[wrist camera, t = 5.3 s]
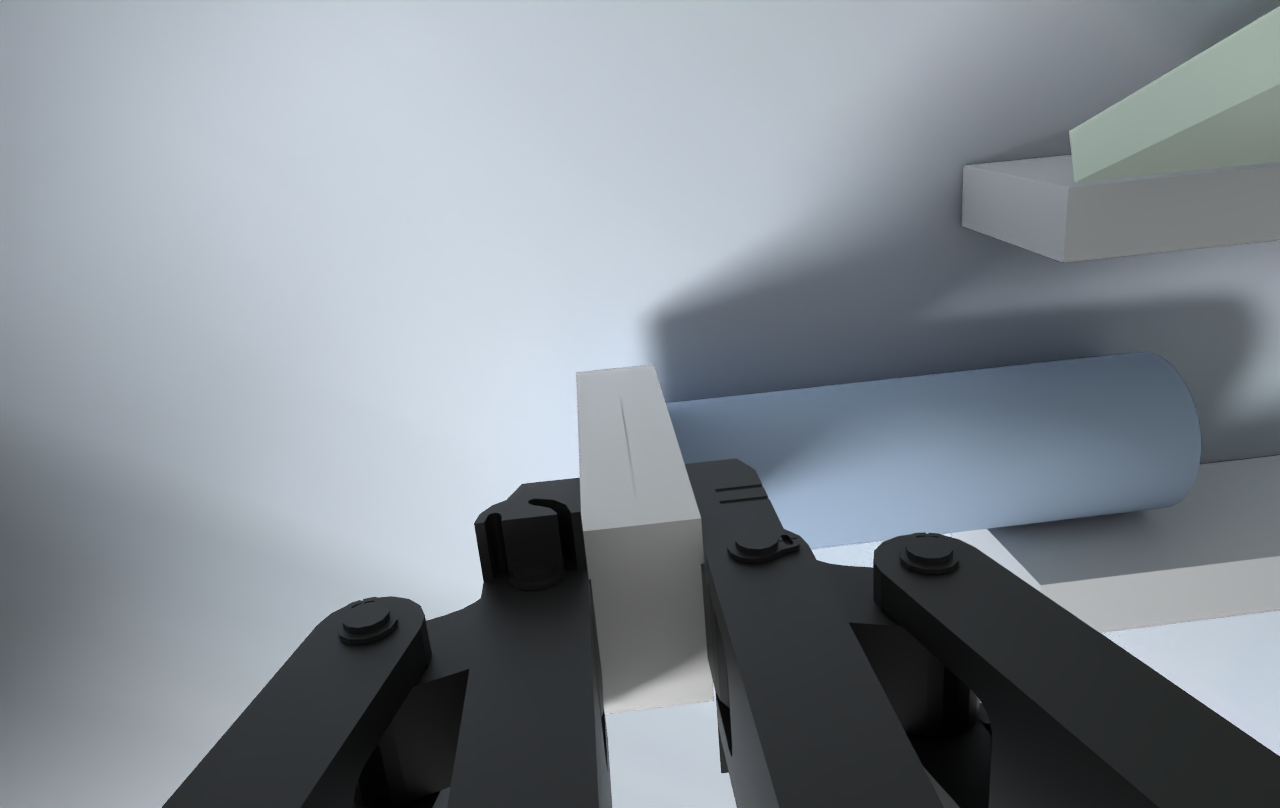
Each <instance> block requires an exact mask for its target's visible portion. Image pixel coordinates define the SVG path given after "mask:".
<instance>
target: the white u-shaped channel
mask: <svg viewBox="0 0 1280 808" xmlns="http://www.w3.org/2000/svg"><path fill="white" fill-rule="evenodd" d="M962 226H963V227H966V228H969V229H971V230H974V231H977V232H980V233H982V234H985V235H988V236H991V237H994V238H996V239H999V240H1002V241H1005V242H1007V243H1010V244H1013V245H1016V246H1018V247H1021V248H1024V249H1027V250H1030V251H1032V252H1035V253H1038V254H1041V255H1043V256H1046V257H1049V258H1052V259H1054V260H1057V261H1060V262H1063V263H1065V262H1075V261H1084V260H1094V259H1104V258H1113V257H1123V256H1132V255H1142V254H1151V253H1161V252H1170V251H1180V250H1189V249H1199V248H1208V247H1218V246H1227V245H1237V244H1247V243H1256V242H1266V241H1275V240H1280V162H1272V163H1262V164H1252V165H1242V166H1232V167H1222V168H1212V169H1202V170H1192V171H1182V172H1173V173H1163V174H1153V175H1143V176H1133V177H1123V178H1113V179H1103V180H1093V181H1083V182H1075V181H1074V172H1073V163H1072V155H1062V156H1052V157H1042V158H1032V159H1022V160H1012V161H1002V162H992V163H982V164H971V165H963V195H962ZM952 538H956V539H959V540H962V541H964V542H966V543H968V544H970V545H972V546H974V547H976V548H977V549H979V550H980V551H981V552H983V553H984V554H986V555H987V556H989V557H990V558H992V559H993V560H995V561H996V562H997V563H999V564H1000V565H1002V566H1003V567H1005V568H1006V569H1008V570H1009V571H1011V572H1012V573H1013V574H1015V575H1016V576H1018V577H1019V578H1021V579H1022V580H1024V581H1025V582H1027V583H1028V584H1029V585H1031V586H1032V587H1034V588H1035V589H1037V590H1038V591H1040V592H1041V593H1043V594H1044V595H1045V596H1047V597H1048V598H1050V599H1051V600H1053V601H1054V602H1056V603H1057V604H1059V605H1060V606H1061V607H1063V608H1064V609H1066V610H1067V611H1069V612H1070V613H1072V614H1073V615H1075V616H1076V617H1077V618H1079V619H1080V620H1082V621H1083V622H1085V623H1086V624H1088V625H1089V626H1091V627H1092V628H1093V629H1095V630H1096V631H1098V632H1099V633H1102V632H1110V631H1118V630H1126V629H1134V628H1142V627H1150V626H1158V625H1166V624H1174V623H1182V622H1190V621H1198V620H1206V619H1214V618H1222V617H1230V616H1238V615H1246V614H1254V613H1262V612H1270V611H1277V610H1280V455H1277V456H1268V457H1260V458H1251V459H1242V460H1234V461H1225V462H1217V463H1208V464H1200V465H1199V469H1198V474H1197V477H1196V479H1195V482H1194V484H1193V486H1192V488H1191V490H1190V491H1189V493H1188V494H1187V496H1186V497H1185V498H1184V499H1183V500H1182V501H1181V502H1179V503H1178V504H1176V505H1174V506H1171V507H1167V508H1160V509H1151V510H1143V511H1134V512H1125V513H1117V514H1108V515H1100V516H1091V517H1083V518H1074V519H1066V520H1057V521H1049V522H1040V523H1031V524H1023V525H1014V526H1006V527H997V528H989V529H980V530H972V531H963V532H955V533H952Z"/></svg>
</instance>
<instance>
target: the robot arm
mask: <svg viewBox="0 0 1280 808" xmlns="http://www.w3.org/2000/svg"><path fill="white" fill-rule="evenodd" d="M576 376H577V407H578V437H579V467H580V478H573V479H564V480H555V481H545V482H536V483H527V484H522V485H521V486H520V487H519V488H518V489H517V490H516V491H515V492H514V493H513V494H512V495H511V496H510V497H509V498H508V499H507V500H505V501H503V502H500V503H498V504H495V505H492V506H491V507H490V508H488V509H487V510H485V511H484V512H482V513H481V514H480V515H479V517H478V518H477V520H476V521H475V523H474V525H475V532H476V538H477V544H478V550H479V556H480V562H481V568H482V575H483V581H484V583H483V589H482V595H481V598H480V599H479V600H478V601H476V602H475V603H473V604H471V605H469V606H467V607H465V608H464V609H461V610H459V611H456V612H453V613H450V614H448V615H445V616H441V617H438V618H435V619H431V620H428V621H426V620H425V615H424V613H423V610H422V608H421V606H420V605H419V604H417V603H415V602H413V601H411V600H410V599H406V598H399V597H392V596H391V597H380V598H377V597H372V598H367V599H363V601H361V600H359V601H356V602H353V603H350V604H349V605H347V606H345V607H343V608H341V609H339V610H337V611H335V612H333V613H331V614H330V615H329V616H328V617H326V618H325V619H324V620H323V621H322V622H321V623H319V624H318V625H317V626H316V627H315V628H314V630H313V631H312V632H311V633H310V634H309V636H308V637H307V638H306V639H305V640H304V641H303V643H302V644H301V645H300V646H299V647H298V648H297V650H296V651H295V652H294V653H293V654H292V655H291V657H290V658H289V659H288V660H287V661H286V662H285V664H284V665H283V666H282V667H281V668H280V669H279V671H278V672H277V673H276V674H275V675H274V676H273V678H272V679H271V680H270V681H269V682H268V684H267V685H266V686H265V687H264V688H263V689H262V691H261V692H260V693H259V694H258V695H257V696H256V698H255V699H254V700H253V701H252V702H251V703H250V705H249V706H248V707H247V708H246V709H245V710H244V712H243V713H242V714H241V715H240V716H239V717H238V719H237V720H236V721H235V722H234V723H233V725H232V726H231V727H230V728H229V729H228V730H227V732H226V733H225V734H224V735H223V736H222V737H221V739H220V740H219V741H218V742H217V743H216V744H215V746H214V747H213V748H212V749H211V750H210V751H209V753H208V754H207V755H206V756H205V757H204V758H203V760H202V761H201V762H200V763H199V764H198V766H197V767H196V768H195V769H194V770H193V771H192V773H191V774H190V775H189V776H188V777H187V778H186V780H185V781H184V782H183V783H182V784H181V785H180V787H179V788H178V789H177V790H176V791H175V792H174V794H173V795H172V796H171V797H170V798H169V799H168V801H167V802H166V803H165V804H164V805H163V807H162V808H612V797H611V782H610V767H609V751H608V738H607V729H606V721H605V714H608V713H616V712H625V711H633V710H641V709H650V708H658V707H667V706H675V705H683V704H692V703H700V702H708V701H714V696H713V683H714V687H715V691H716V703H717V718H718V733H719V747H720V762H721V773H728V772H729V775H730V779H731V784H732V788H733V792H734V797H735V801H736V805H737V808H1280V756H1278V755H1277V754H1275V753H1274V752H1272V751H1271V750H1270V749H1268V748H1267V747H1265V746H1264V745H1262V744H1261V743H1259V742H1258V741H1256V740H1255V739H1254V738H1252V737H1251V736H1249V735H1248V734H1246V733H1245V732H1243V731H1242V730H1240V729H1239V728H1238V727H1236V726H1235V725H1233V724H1232V723H1230V722H1229V721H1227V720H1226V719H1224V718H1223V717H1222V716H1220V715H1219V714H1217V713H1216V712H1214V711H1213V710H1211V709H1210V708H1208V707H1207V706H1206V705H1204V704H1203V703H1201V702H1200V701H1198V700H1197V699H1195V698H1194V697H1192V696H1191V695H1190V694H1188V693H1187V692H1185V691H1184V690H1182V689H1181V688H1179V687H1178V686H1176V685H1175V684H1174V683H1172V682H1171V681H1169V680H1168V679H1166V678H1165V677H1163V676H1162V675H1160V674H1159V673H1158V672H1156V671H1155V670H1153V669H1152V668H1150V667H1149V666H1147V665H1146V664H1144V663H1143V662H1142V661H1140V660H1139V659H1137V658H1136V657H1134V656H1133V655H1131V654H1130V653H1128V652H1127V651H1125V650H1124V649H1123V648H1121V647H1120V646H1118V645H1117V644H1115V643H1114V642H1112V641H1111V640H1109V639H1108V638H1107V637H1105V636H1104V635H1102V634H1101V633H1099V632H1098V631H1096V630H1095V629H1093V628H1092V627H1091V626H1089V625H1088V624H1086V623H1085V622H1083V621H1082V620H1080V619H1079V618H1077V617H1076V616H1075V615H1073V614H1072V613H1070V612H1069V611H1067V610H1066V609H1064V608H1063V607H1061V606H1060V605H1059V604H1057V603H1056V602H1054V601H1053V600H1051V599H1050V598H1048V597H1047V596H1045V595H1044V594H1043V593H1041V592H1040V591H1038V590H1037V589H1035V588H1034V587H1032V586H1031V585H1029V584H1028V583H1027V582H1025V581H1024V580H1022V579H1021V578H1019V577H1018V576H1016V575H1015V574H1013V573H1012V572H1011V571H1009V570H1008V569H1006V568H1005V567H1003V566H1002V565H1000V564H999V563H997V562H996V561H995V560H993V559H992V558H990V557H989V556H987V555H986V554H984V553H983V552H981V551H980V550H979V549H977V548H976V547H974V546H972V545H970V544H968V543H966V542H964V541H962V540H959V539H956V538H952V537H947V536H943V535H941V534H938V533H928V534H926V532H923V533H913V534H909V535H902V536H897V537H894V538H892V539H889V540H887V541H884V542H883V543H882V544H881V545H880V546H879V547H878V548H877V549H876V550H875V551H874V564H873V568H871V567H855V566H843V565H835V564H829V563H825V562H821V561H818V560H816V558H815V556H814V554H813V553H812V551H811V549H810V547H809V545H808V544H807V543H806V542H805V540H804V539H803V538H802V537H801V536H799V535H797V534H795V533H793V532H790V531H788V530H786V529H784V528H783V526H782V524H781V522H780V520H779V518H778V516H777V514H776V512H775V509H774V507H773V505H772V503H771V501H770V499H768V495H767V493H766V491H765V489H764V487H762V483H761V481H760V479H759V477H758V474H757V472H756V470H755V469H753V468H752V467H750V466H748V465H747V464H745V463H743V462H742V461H740V460H738V459H737V458H735V459H726V460H717V461H708V462H699V463H689V464H684V461H683V458H682V454H681V451H680V448H679V445H678V441H677V438H676V435H675V432H674V429H673V425H672V422H671V419H670V416H669V412H668V409H667V406H666V403H665V399H664V396H663V393H662V390H661V386H660V383H659V380H658V377H657V373H656V370H655V367H654V364H652V365H642V366H633V367H623V368H613V369H604V370H594V371H584V372H576ZM712 679H713V682H712ZM980 701H981V702H980Z"/></svg>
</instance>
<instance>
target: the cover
mask: <svg viewBox="0 0 1280 808" xmlns="http://www.w3.org/2000/svg"><path fill="white" fill-rule="evenodd" d="M1069 137H1070V146H1071V155H1072V163H1073V172H1074V181H1075V182H1083V181H1093V180H1103V179H1113V178H1123V177H1133V176H1143V175H1153V174H1163V173H1173V172H1182V171H1192V170H1202V169H1212V168H1222V167H1232V166H1242V165H1252V164H1262V163H1272V162H1280V6H1279V7H1277V8H1275V9H1274V10H1272V11H1270V12H1269V13H1267V14H1265V15H1264V16H1262V17H1260V18H1259V19H1257V20H1255V21H1253V22H1252V23H1250V24H1248V25H1247V26H1245V27H1243V28H1242V29H1240V30H1238V31H1237V32H1235V33H1233V34H1232V35H1230V36H1228V37H1227V38H1225V39H1223V40H1222V41H1220V42H1218V43H1216V44H1215V45H1213V46H1211V47H1210V48H1208V49H1206V50H1205V51H1203V52H1201V53H1200V54H1198V55H1196V56H1195V57H1193V58H1191V59H1190V60H1188V61H1186V62H1185V63H1183V64H1181V65H1179V66H1178V67H1176V68H1174V69H1173V70H1171V71H1169V72H1168V73H1166V74H1164V75H1163V76H1161V77H1159V78H1158V79H1156V80H1154V81H1153V82H1151V83H1149V84H1148V85H1146V86H1144V87H1142V88H1141V89H1139V90H1137V91H1136V92H1134V93H1132V94H1131V95H1129V96H1127V97H1126V98H1124V99H1122V100H1121V101H1119V102H1117V103H1116V104H1114V105H1112V106H1111V107H1109V108H1107V109H1105V110H1104V111H1102V112H1100V113H1099V114H1097V115H1095V116H1094V117H1092V118H1090V119H1089V120H1087V121H1085V122H1084V123H1082V124H1080V125H1079V126H1077V127H1075V128H1073V129H1072V130H1070V131H1069Z"/></svg>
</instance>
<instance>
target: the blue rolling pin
mask: <svg viewBox="0 0 1280 808" xmlns="http://www.w3.org/2000/svg"><path fill="white" fill-rule="evenodd" d="M666 406H667V409H668V412H669V416H670V419H671V422H672V425H673V429H674V432H675V435H676V438H677V441H678V445H679V448H680V451H681V454H682V458H683V461H684V464H689V463H699V462H708V461H717V460H726V459H735V458H737V459H738V460H740V461H742V462H743V463H745V464H747V465H748V466H750V467H752V468H753V469H755V470H756V472H757V474H758V477H759V479H760V481H761V483H762V487H764V489H765V491H766V493H767V495H768V499H770V501H771V503H772V505H773V507H774V509H775V512H776V514H777V516H778V518H779V520H780V522H781V524H782V526H783V528H784V529H786V530H788V531H790V532H793V533H795V534H797V535H799V536H801V537H802V538H803V539H804V540H805V542H806V543H807V544H808V545H809V547H810V549H818V548H826V547H835V546H843V545H852V544H861V543H869V542H878V541H886V540H889V539H892V538H894V537H897V536H902V535H909V534H913V533H923V532H926V534H928V533H938V534H946V533H955V532H963V531H972V530H980V529H989V528H997V527H1006V526H1014V525H1023V524H1031V523H1040V522H1049V521H1057V520H1066V519H1074V518H1083V517H1091V516H1100V515H1108V514H1117V513H1125V512H1134V511H1143V510H1151V509H1160V508H1167V507H1171V506H1174V505H1176V504H1178V503H1179V502H1181V501H1182V500H1183V499H1184V498H1185V497H1186V496H1187V494H1188V493H1189V491H1190V490H1191V488H1192V486H1193V484H1194V482H1195V479H1196V477H1197V474H1198V469H1199V465H1200V458H1201V431H1200V425H1199V419H1198V415H1197V411H1196V407H1195V404H1194V401H1193V399H1192V396H1191V394H1190V392H1189V389H1188V387H1187V386H1186V384H1185V382H1184V380H1183V379H1182V377H1181V376H1180V374H1179V373H1178V372H1177V371H1176V369H1175V368H1174V367H1173V366H1172V365H1171V364H1170V363H1169V362H1167V361H1166V360H1165V359H1163V358H1162V357H1160V356H1158V355H1156V354H1154V353H1150V352H1134V353H1124V354H1115V355H1106V356H1097V357H1087V358H1078V359H1069V360H1060V361H1051V362H1041V363H1032V364H1023V365H1014V366H1004V367H995V368H986V369H977V370H967V371H958V372H949V373H940V374H930V375H921V376H912V377H903V378H893V379H884V380H875V381H866V382H856V383H847V384H838V385H829V386H819V387H810V388H801V389H792V390H782V391H773V392H764V393H755V394H745V395H736V396H727V397H718V398H708V399H699V400H690V401H681V402H672V403H666Z"/></svg>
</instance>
